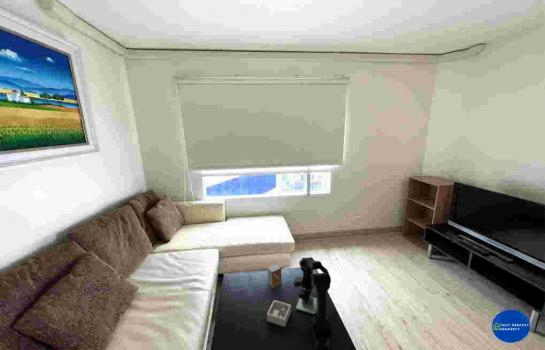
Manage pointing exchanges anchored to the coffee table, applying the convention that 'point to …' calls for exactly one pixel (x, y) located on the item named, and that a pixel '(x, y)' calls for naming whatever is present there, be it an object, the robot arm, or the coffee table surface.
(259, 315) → the coffee table surface
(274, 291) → the coffee table surface
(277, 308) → the storage box
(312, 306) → the lid
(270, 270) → the small box
